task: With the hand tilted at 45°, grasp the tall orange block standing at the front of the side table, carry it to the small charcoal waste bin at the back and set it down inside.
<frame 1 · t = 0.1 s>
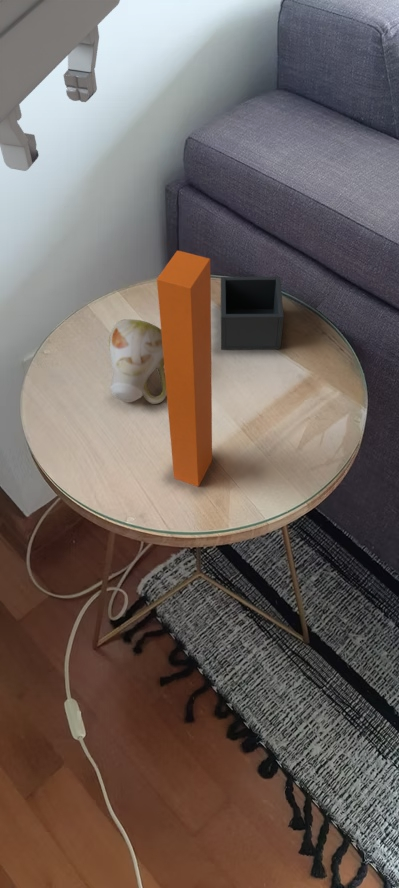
hand: (54, 128, 48), 39 cm above the table, tool pointing down, fingers open, 8 cm apart
bin: (249, 329, 92), on the table
block: (193, 469, 78), on the table
mug: (138, 380, 87), on the table
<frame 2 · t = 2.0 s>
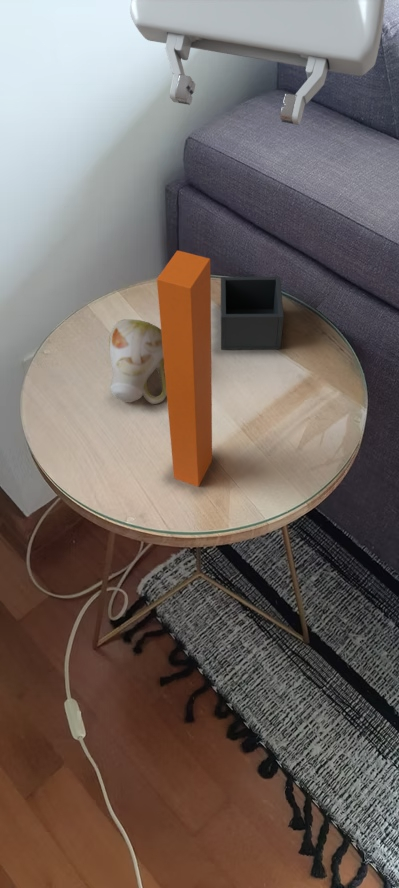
hand: (233, 111, 56), 35 cm above the table, tool tilted 45°, fingers open, 8 cm apart
nothing on the table moved.
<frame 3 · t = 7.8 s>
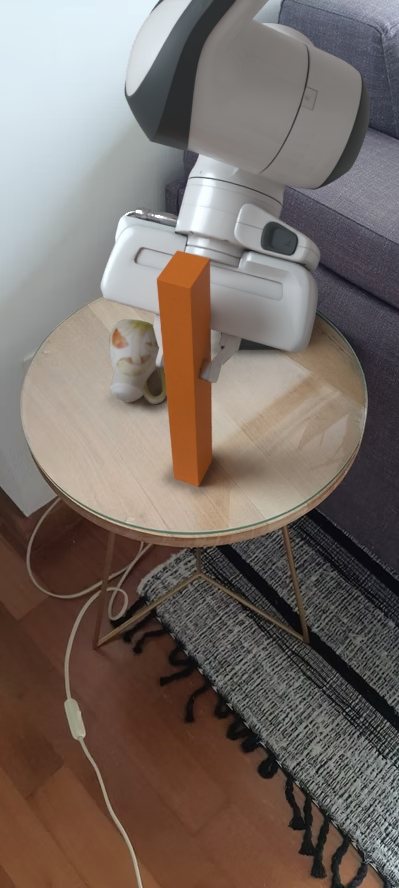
hand: (186, 374, 65), 16 cm above the table, tool tilted 45°, fingers closed on block, 3 cm apart
block: (193, 469, 78), on the table, touching gripper
everything else where it was.
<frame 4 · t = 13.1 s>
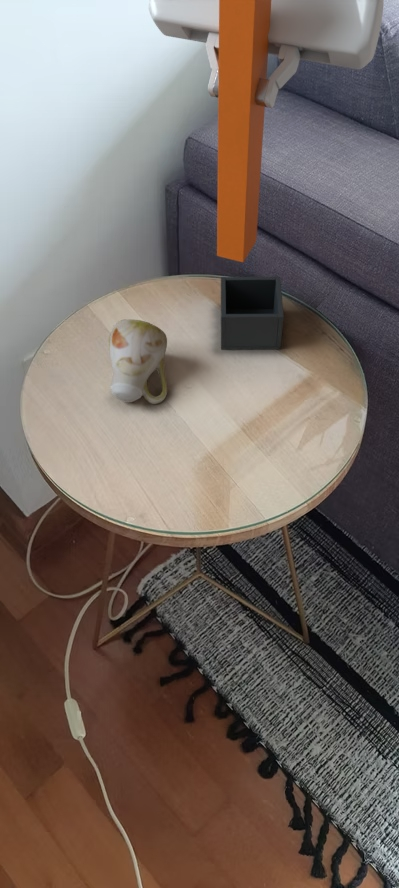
hand: (240, 100, 61), 34 cm above the table, tool tilted 45°, fingers closed on block, 3 cm apart
block: (236, 248, 74), point 18 cm above the table, touching gripper
everything else where it was.
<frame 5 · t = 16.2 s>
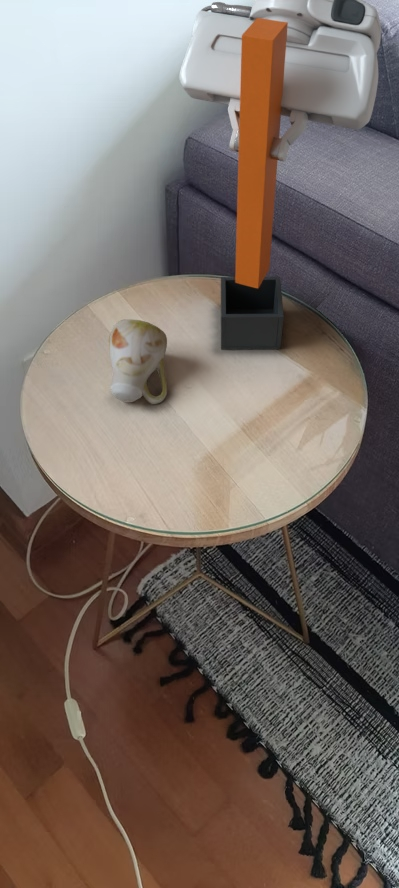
hand: (256, 154, 71), 25 cm above the table, tool tilted 45°, fingers closed on block, 3 cm apart
block: (252, 275, 85), point 9 cm above the table, touching gripper
everything else where it was.
when the fingers open (17 cm above the table, at t = 18.7 s): block stays where it is, resting on bin.
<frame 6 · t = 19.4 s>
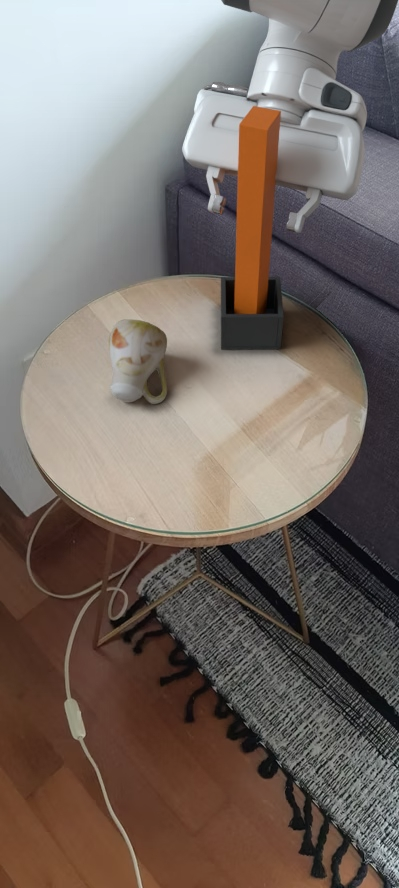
hand: (253, 221, 78), 17 cm above the table, tool tilted 45°, fingers open, 8 cm apart
block: (249, 325, 91), point 1 cm above the table, touching bin
everything else where it was.
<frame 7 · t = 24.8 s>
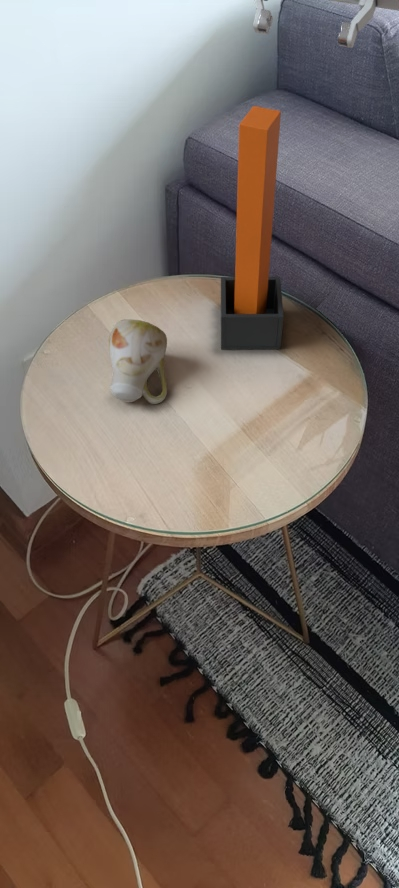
hand: (302, 37, 74), 31 cm above the table, tool tilted 45°, fingers open, 8 cm apart
nothing on the table moved.
at the end: block 0.0 cm off-centre in the bin, point 0.6 cm above the bin's base; the gripper is holding nothing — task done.
